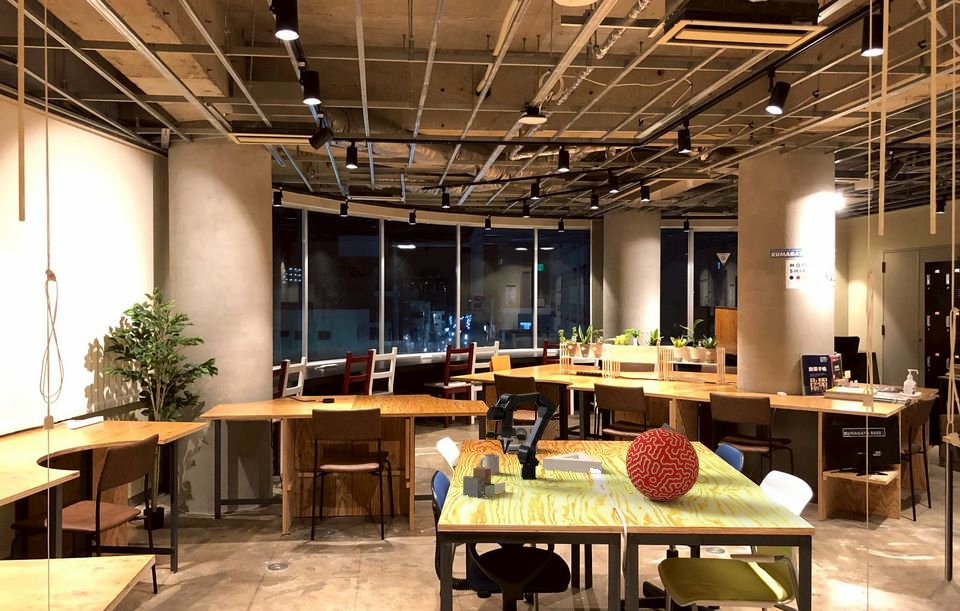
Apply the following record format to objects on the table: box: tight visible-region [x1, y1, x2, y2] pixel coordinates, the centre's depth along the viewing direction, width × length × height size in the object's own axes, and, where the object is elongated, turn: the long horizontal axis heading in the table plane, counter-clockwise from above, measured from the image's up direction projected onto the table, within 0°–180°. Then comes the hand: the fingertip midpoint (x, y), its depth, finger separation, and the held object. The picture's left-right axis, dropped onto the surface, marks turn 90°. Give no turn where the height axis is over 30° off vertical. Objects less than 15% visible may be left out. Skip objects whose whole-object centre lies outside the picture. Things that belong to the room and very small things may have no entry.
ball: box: [625, 427, 700, 502], centre depth 301 cm, size 30×30×30 cm
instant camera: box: [500, 425, 539, 453], centre depth 415 cm, size 21×21×15 cm
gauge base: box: [481, 481, 506, 498], centre depth 313 cm, size 14×11×4 cm
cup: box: [478, 453, 500, 475], centre depth 354 cm, size 7×10×9 cm
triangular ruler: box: [542, 450, 603, 474], centre depth 370 cm, size 30×26×6 cm
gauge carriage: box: [472, 465, 496, 491], centre depth 312 cm, size 5×11×9 cm, turn 52°
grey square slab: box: [462, 475, 481, 498], centre depth 308 cm, size 2×8×8 cm, turn 52°
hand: (504, 454), depth 334 cm, fingers closed
